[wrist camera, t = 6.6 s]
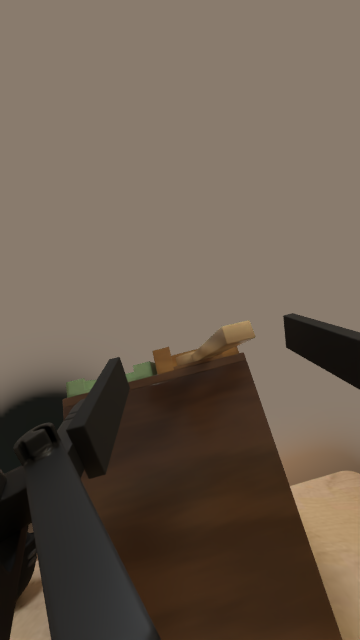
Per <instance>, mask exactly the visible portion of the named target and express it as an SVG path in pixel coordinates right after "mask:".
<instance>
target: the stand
mask: <svg viewBox="0 0 360 640" xmlns="http://www.w3.org/2000/svg"><path fill="white" fill-rule="evenodd" d="M128 383H129V386H130V390H129V393H128V397H127V400H126V404H125V408H124V411H123V415H122V418H121V422H120V425H119V429H118V433H117V436H116V440H115V443H114V447H113V450H112V454H111V458H110V461H109V465H108V468H107V472H106V475H102V476H99V477H95V478H92V479H88V476H87V474H86V472H85V470H84V471H83V474H82V476H81V481H82V483H83V485H84V487H85V489H86V491H87V493H88V495H89V497H90V499H91V501H92V503H93V505H94V507H95V509H96V511H97V513H98V515H99V517H100V519H101V521H102V523H103V525H104V527H105V529H106V531H107V533H108V535H109V537H110V539H111V541H112V542H113V544H114V546H115V548H116V550H117V552H118V554H119V556H120V558H121V560H122V562H123V564H124V566H125V568H126V570H127V572H128V574H129V576H130V578H131V580H132V582H133V584H134V586H135V588H136V590H137V592H138V594H139V596H140V598H141V600H142V602H143V604H144V606H145V608H146V610H147V612H148V614H149V616H150V618H151V620H152V622H153V624H154V626H155V628H156V630H157V632H158V634H159V636H160V638H161V640H342V637H341V634H340V632H339V629H338V626H337V623H336V620H335V617H334V614H333V611H332V608H331V605H330V602H329V599H328V597H327V594H326V591H325V588H324V585H323V582H322V579H321V576H320V573H319V570H318V567H317V565H316V562H315V559H314V556H313V553H312V550H311V547H310V544H309V541H308V538H307V535H306V532H305V530H304V527H303V524H302V521H301V518H300V515H299V512H298V509H297V506H296V503H295V500H294V498H293V495H292V492H291V489H290V486H289V483H288V480H287V477H286V474H285V471H284V468H283V465H282V463H281V460H280V457H279V454H278V451H277V448H276V445H275V442H274V439H273V437H272V433H271V431H270V428H269V425H268V422H267V419H266V416H265V413H264V410H263V407H262V404H261V401H260V398H259V396H258V393H257V390H256V387H255V384H254V381H253V378H252V375H251V372H250V369H249V366H248V363H247V361H246V358H245V355H244V353H239V354H235V355H231V356H227V357H223V358H220V359H216V360H212V361H208V362H204V363H200V364H196V365H193V366H189V367H185V368H181V369H177V370H173V371H169V372H166V373H162V374H158V375H154V376H150V377H146V378H142V379H139V380H135V381H131V382H128ZM88 393H89V392H88ZM88 393H85V394H81V395H77V396H73V397H69V398H66V399H63V414H64V421H65V418H66V417H67V415H69V412H70V411H71V409H72V408H73V407H74V406H75V405H76V404H77V403H78V402H79V401H80V400H82V399H85V398H86V397H87V395H88Z"/></svg>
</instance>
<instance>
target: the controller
mask: <svg viewBox="0 0 360 640" xmlns="http://www.w3.org/2000/svg"><path fill="white" fill-rule="evenodd" d="M36 555H37V549H36V543H35V537H34V532H33V533H28V532H27V537H26V543H25V549H24V555H23V561H22V567H21V573H20V579H19V585H18V591H17V597H16V600H17V599H18V598H19V596H20V595H21V594H22V592H23V591H24V590H25V588H26V587H27V585H28V583H29V581H30V580H31V577H32V575H33V572H34V568H35V563H36V558H37V556H36Z"/></svg>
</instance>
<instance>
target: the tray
mask: <svg viewBox="0 0 360 640" xmlns="http://www.w3.org/2000/svg"><path fill="white" fill-rule="evenodd" d="M133 368H134V372H132V373H128V374H125V375H126V378H127V381H128V382H131V381H135V380H139V379H142V378H146V377H150V376H154V375H158V374H157V370H156V365H155V363H153V362H145V363H142V364H138V365H134V366H133ZM95 382H96V380H90V381H85V379H84V378H83V379H79V380H75V381H71V382H67V383H66V386H67V398H69V397H73V396H77V395H81V394H85V393H88V392H90V390H91V389H92V387H93V385H94V384H95Z"/></svg>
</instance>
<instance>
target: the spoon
mask: <svg viewBox="0 0 360 640" xmlns="http://www.w3.org/2000/svg"><path fill="white" fill-rule="evenodd" d="M253 338H255V334H254V331H253V329H252V326H251V323H250V321H249V320H248V321H244V322H240V323H236V324H231V325H227V326H223V327H221V328H220V329H219V330H218V331H217V332H216V333H215V334H213V336H211V337H210V338H209V339H208V340H207V341H206V342H205V343H204V344H203V345H202V346H201V347H200V348H199V349H198V350H196V351H195V352H191V353H187V354H184V355H181V356H179V357H176V362H177V366H179V365H183V364H187V363H191V362H195V361H199V360H203V359H206V358H210V357H214V356H216V355H218V354H220V353H222V352H224V351H227V350H229V349H231V348H233V347H235V346H238V345H240V344H242V343H244V342H246V341H248V340H251V339H253Z"/></svg>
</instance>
